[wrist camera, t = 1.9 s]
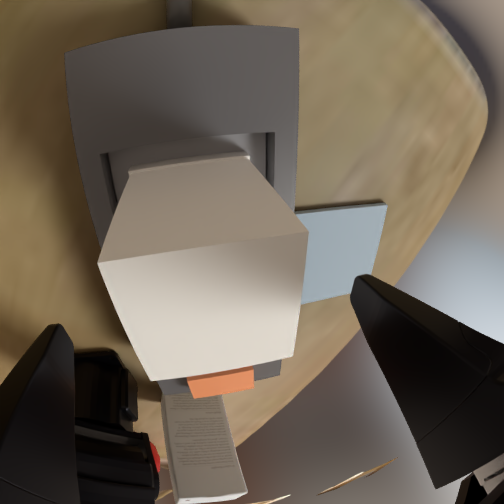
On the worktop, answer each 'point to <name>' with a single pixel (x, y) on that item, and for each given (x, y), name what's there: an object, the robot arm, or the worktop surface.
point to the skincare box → (200, 449)
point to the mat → (339, 247)
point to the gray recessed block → (185, 121)
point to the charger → (204, 266)
